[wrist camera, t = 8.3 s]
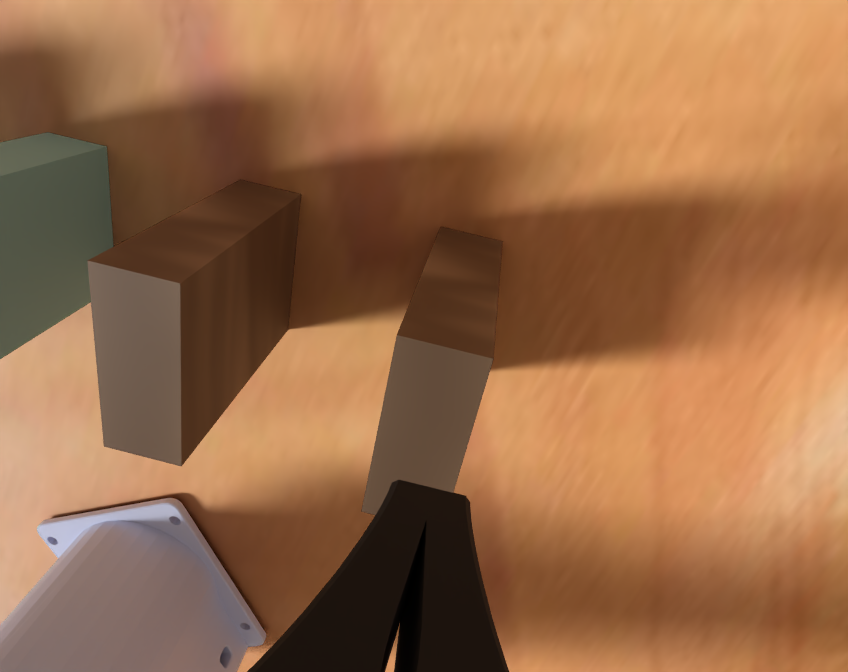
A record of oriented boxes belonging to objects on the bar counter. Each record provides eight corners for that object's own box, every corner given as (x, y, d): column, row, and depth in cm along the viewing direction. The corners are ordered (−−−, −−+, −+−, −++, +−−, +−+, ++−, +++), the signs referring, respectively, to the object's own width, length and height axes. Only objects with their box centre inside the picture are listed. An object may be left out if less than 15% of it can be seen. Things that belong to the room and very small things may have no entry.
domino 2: (300, 194, 18) (180, 283, 12) (288, 329, 21) (181, 466, 14) (240, 179, 19) (87, 260, 12) (234, 316, 21) (103, 446, 14)
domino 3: (502, 241, 18) (493, 358, 12) (465, 372, 21) (441, 532, 14) (440, 226, 18) (396, 335, 12) (411, 359, 21) (361, 511, 14)
